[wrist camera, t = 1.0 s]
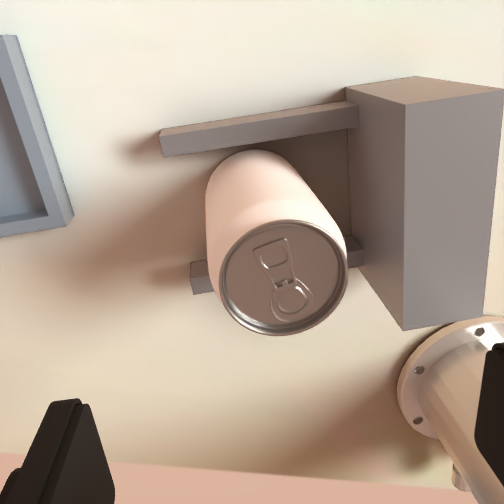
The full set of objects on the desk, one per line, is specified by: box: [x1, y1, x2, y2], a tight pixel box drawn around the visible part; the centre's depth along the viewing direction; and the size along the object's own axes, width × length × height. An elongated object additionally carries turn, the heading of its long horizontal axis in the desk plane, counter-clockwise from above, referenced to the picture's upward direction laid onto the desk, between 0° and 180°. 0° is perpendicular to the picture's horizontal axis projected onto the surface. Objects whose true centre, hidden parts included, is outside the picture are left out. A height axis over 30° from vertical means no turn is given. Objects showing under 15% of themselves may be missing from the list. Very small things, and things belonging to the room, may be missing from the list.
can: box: [205, 150, 348, 336], centre depth 25 cm, size 6×6×12 cm
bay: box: [159, 76, 504, 331], centre depth 26 cm, size 12×16×9 cm
